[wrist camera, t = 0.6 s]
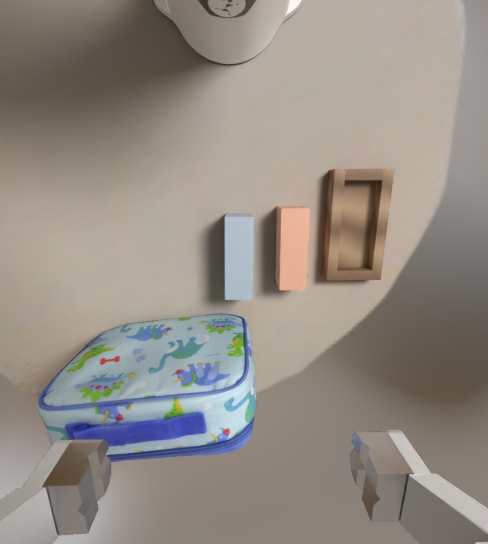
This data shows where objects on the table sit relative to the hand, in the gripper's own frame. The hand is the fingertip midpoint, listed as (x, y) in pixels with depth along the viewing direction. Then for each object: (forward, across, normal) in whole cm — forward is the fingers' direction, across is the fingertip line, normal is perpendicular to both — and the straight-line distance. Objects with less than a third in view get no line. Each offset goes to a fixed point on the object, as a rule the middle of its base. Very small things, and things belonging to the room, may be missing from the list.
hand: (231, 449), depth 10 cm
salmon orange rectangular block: (+39, -9, 0) cm, 40 cm away
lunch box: (+39, +10, +17) cm, 44 cm away
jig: (+39, -19, -3) cm, 43 cm away
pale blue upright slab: (+39, -1, +1) cm, 39 cm away
